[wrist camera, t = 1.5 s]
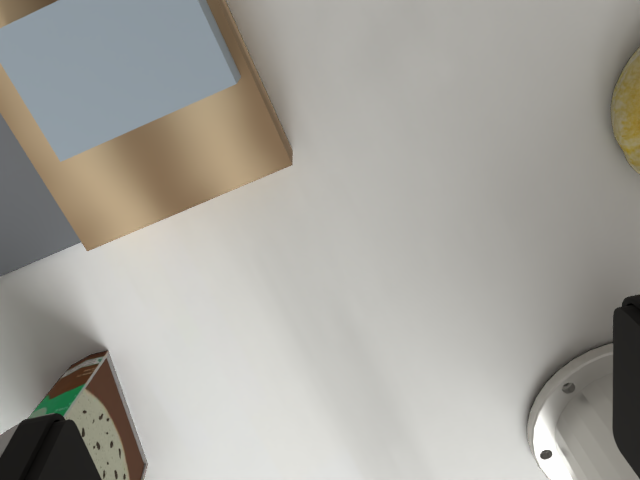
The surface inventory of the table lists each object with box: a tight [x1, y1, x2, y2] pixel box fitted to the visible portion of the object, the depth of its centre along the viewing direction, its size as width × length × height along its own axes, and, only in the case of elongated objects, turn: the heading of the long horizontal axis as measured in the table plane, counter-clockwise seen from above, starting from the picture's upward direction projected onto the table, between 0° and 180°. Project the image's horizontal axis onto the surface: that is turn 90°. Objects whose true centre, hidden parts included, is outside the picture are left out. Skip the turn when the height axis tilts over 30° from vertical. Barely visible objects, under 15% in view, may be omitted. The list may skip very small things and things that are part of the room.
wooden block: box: [0, 0, 293, 251], centre depth 30 cm, size 12×16×3 cm
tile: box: [0, 0, 241, 162], centre depth 27 cm, size 9×6×2 cm, turn 113°
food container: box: [0, 351, 148, 480], centre depth 35 cm, size 12×6×10 cm, turn 9°
